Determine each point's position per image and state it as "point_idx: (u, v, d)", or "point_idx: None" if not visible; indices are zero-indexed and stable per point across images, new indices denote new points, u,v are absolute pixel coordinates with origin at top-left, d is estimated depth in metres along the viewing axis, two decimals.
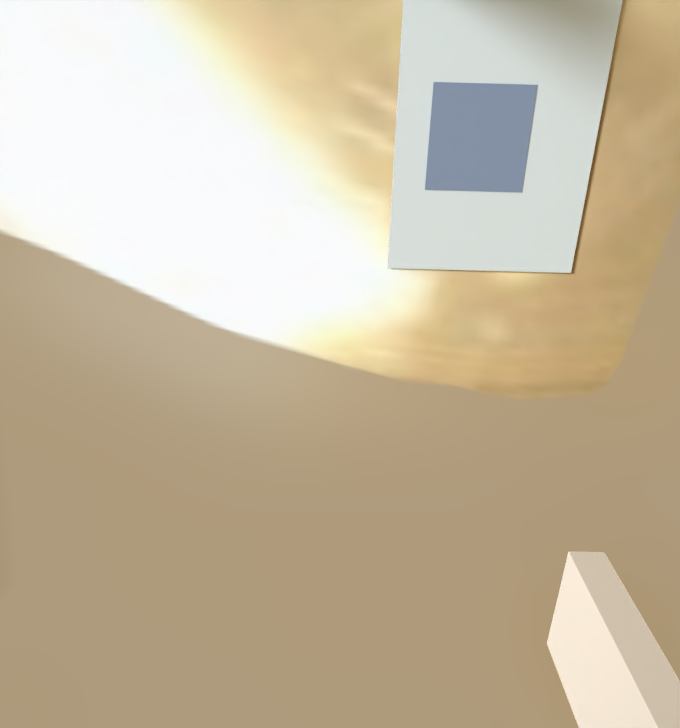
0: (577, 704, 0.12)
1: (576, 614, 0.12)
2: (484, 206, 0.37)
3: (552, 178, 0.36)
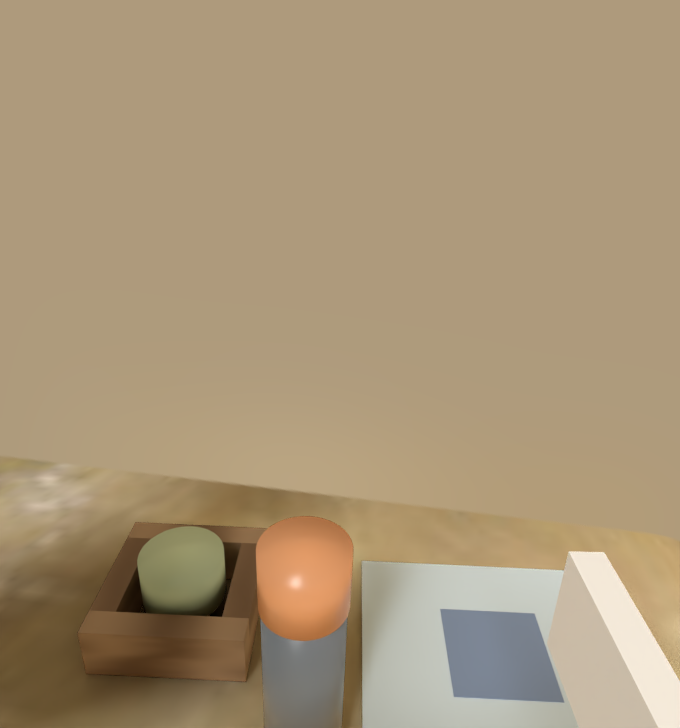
0: (577, 704, 0.12)
1: (576, 614, 0.12)
2: None
3: (514, 592, 0.39)
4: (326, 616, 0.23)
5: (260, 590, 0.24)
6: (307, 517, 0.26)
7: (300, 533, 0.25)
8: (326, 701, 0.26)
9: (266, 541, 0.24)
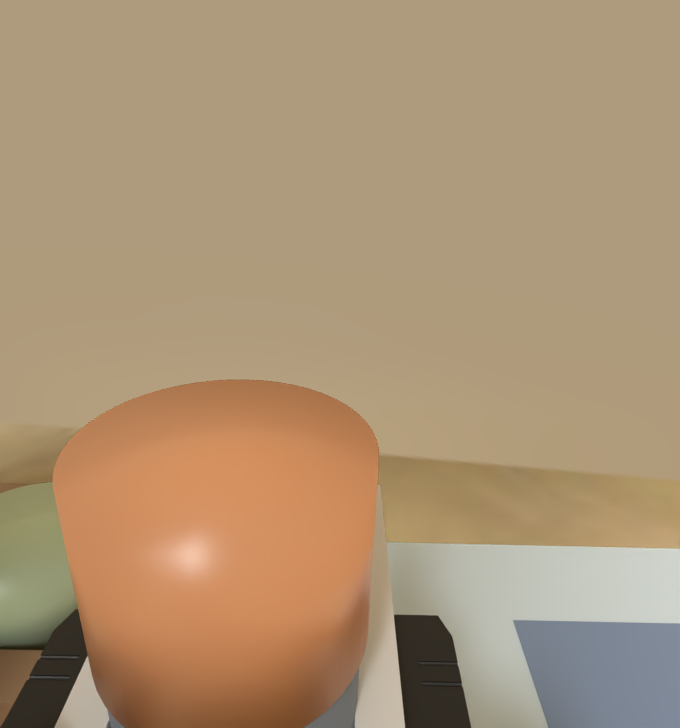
0: None
1: None
2: None
3: (633, 587, 0.23)
4: (292, 669, 0.07)
5: (74, 586, 0.07)
6: (243, 380, 0.09)
7: (216, 413, 0.08)
8: None
9: (104, 432, 0.08)
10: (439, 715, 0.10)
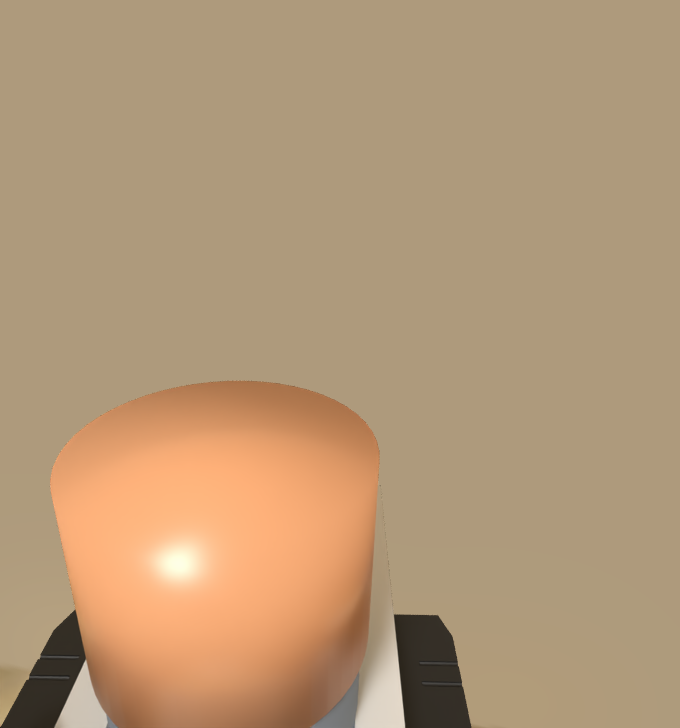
0: None
1: None
2: None
3: None
4: (293, 673, 0.07)
5: (72, 589, 0.07)
6: (243, 382, 0.09)
7: (215, 415, 0.08)
8: None
9: (103, 434, 0.08)
10: (439, 715, 0.10)
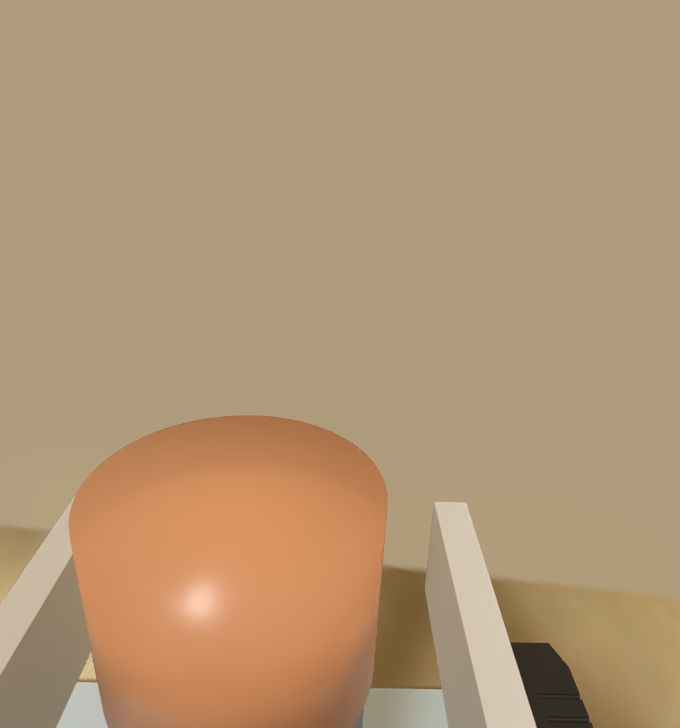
0: (435, 635, 0.13)
1: (436, 556, 0.13)
2: None
3: None
4: (302, 714, 0.07)
5: (87, 628, 0.07)
6: (252, 417, 0.09)
7: (226, 453, 0.08)
8: None
9: (117, 473, 0.08)
10: None
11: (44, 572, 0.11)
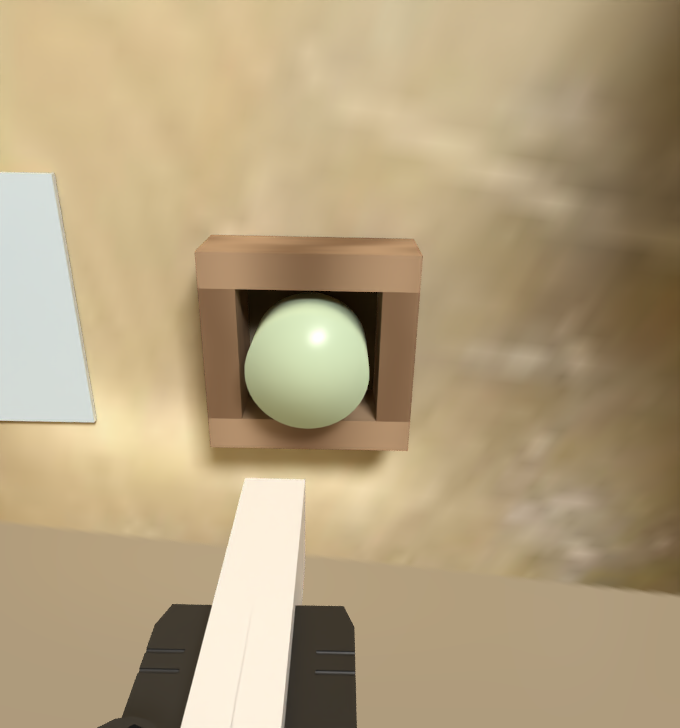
0: None
1: None
2: None
3: None
4: None
5: None
6: None
7: None
8: None
9: None
10: (327, 702, 0.10)
11: (247, 549, 0.12)
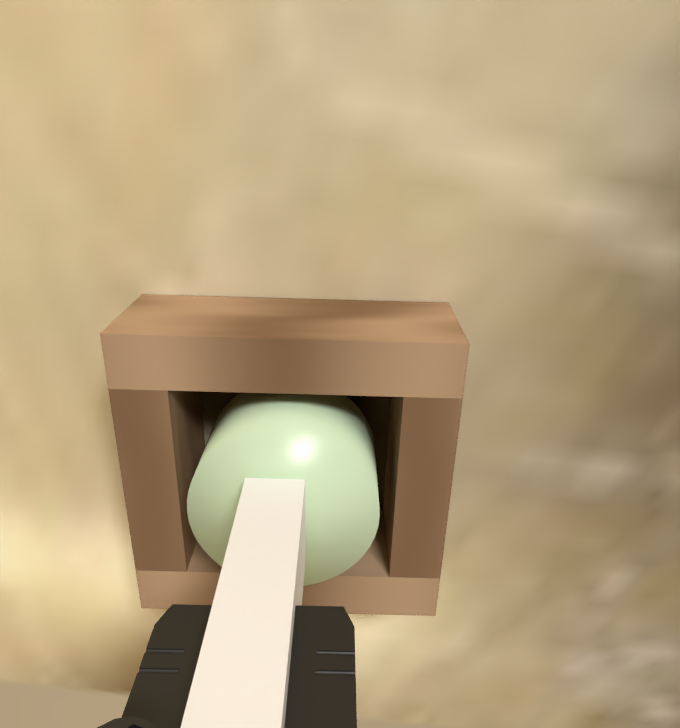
0: None
1: None
2: None
3: None
4: None
5: None
6: None
7: None
8: None
9: None
10: (327, 702, 0.10)
11: (246, 549, 0.12)
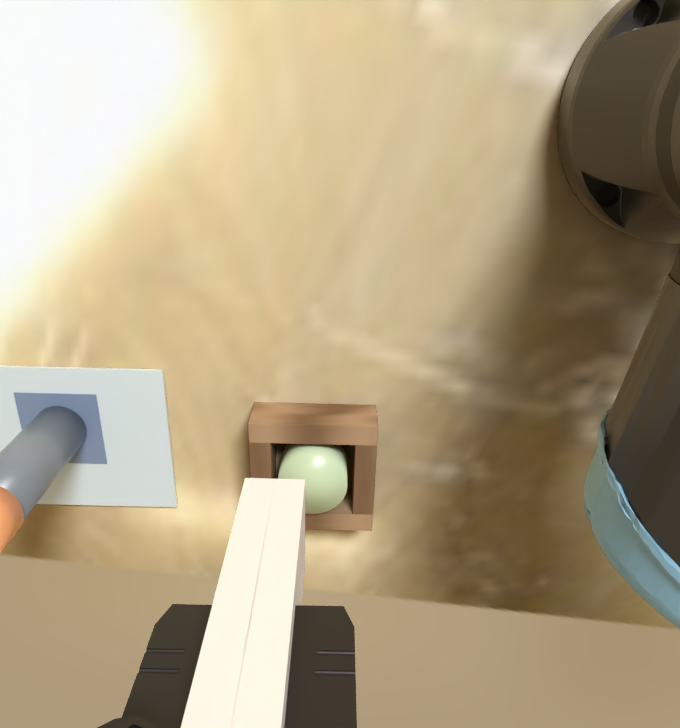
0: None
1: None
2: (11, 437, 0.44)
3: None
4: None
5: (1, 515, 0.33)
6: None
7: None
8: (2, 450, 0.38)
9: None
10: (327, 702, 0.10)
11: (247, 549, 0.12)
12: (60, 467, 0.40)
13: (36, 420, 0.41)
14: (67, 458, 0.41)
